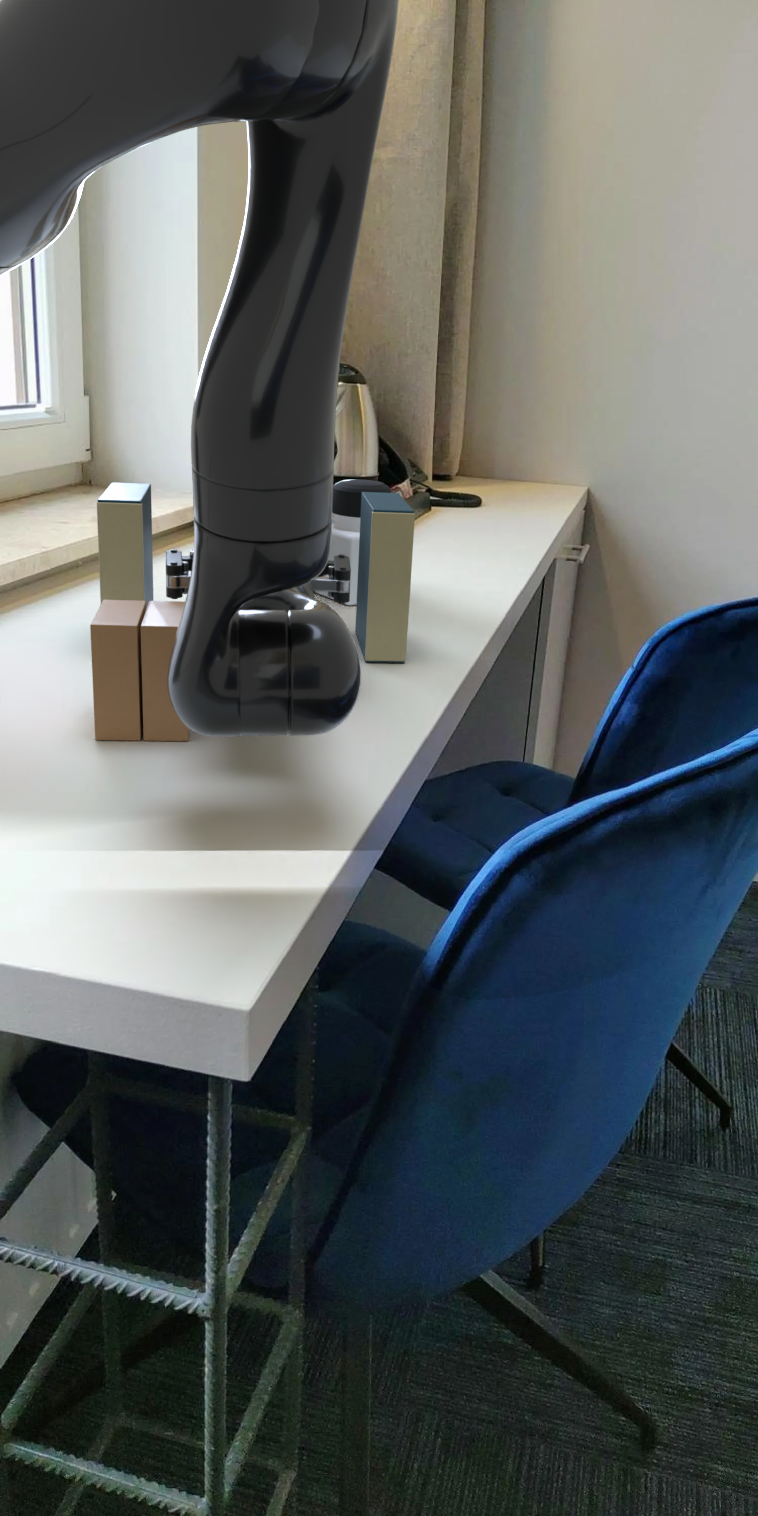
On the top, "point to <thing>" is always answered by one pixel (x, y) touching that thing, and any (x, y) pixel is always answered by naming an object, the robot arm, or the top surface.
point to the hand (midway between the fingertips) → (257, 556)
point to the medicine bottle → (349, 524)
